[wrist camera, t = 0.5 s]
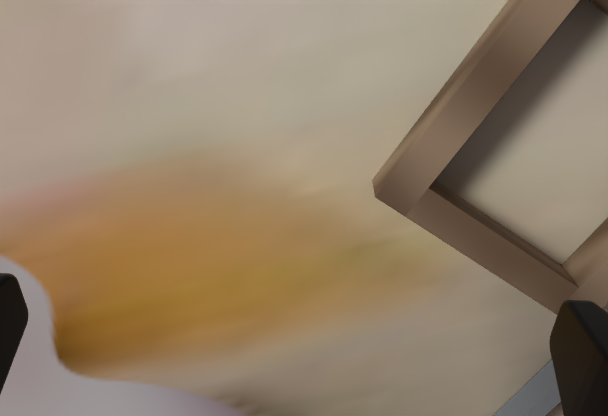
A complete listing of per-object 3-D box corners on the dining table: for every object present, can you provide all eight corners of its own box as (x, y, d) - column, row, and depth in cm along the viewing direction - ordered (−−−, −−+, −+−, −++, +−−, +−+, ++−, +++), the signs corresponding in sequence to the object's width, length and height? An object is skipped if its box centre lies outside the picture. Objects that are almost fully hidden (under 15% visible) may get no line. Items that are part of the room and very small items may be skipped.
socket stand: (563, 304, 27) (580, 329, 25) (372, 180, 25) (375, 197, 23) (777, 91, 23) (816, 102, 21) (567, -78, 21) (590, -82, 19)
